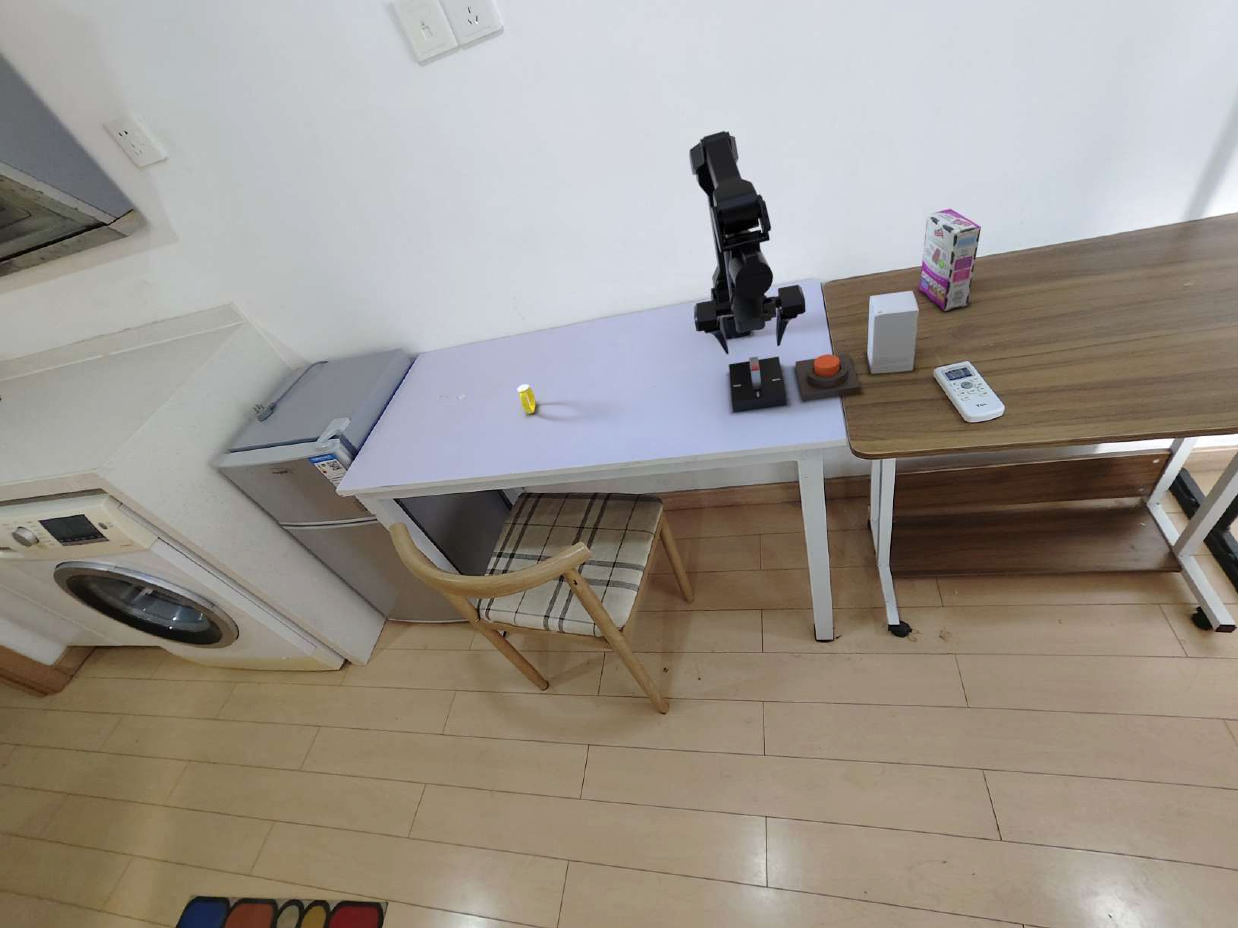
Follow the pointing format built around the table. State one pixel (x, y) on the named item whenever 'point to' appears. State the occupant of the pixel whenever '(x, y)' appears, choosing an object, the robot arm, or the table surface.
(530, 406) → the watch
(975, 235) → the candy bar box
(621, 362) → the table surface
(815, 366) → the button
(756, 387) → the burner knob
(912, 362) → the white packaging box
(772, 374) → the hob panel
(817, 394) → the brown button base
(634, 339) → the table surface
